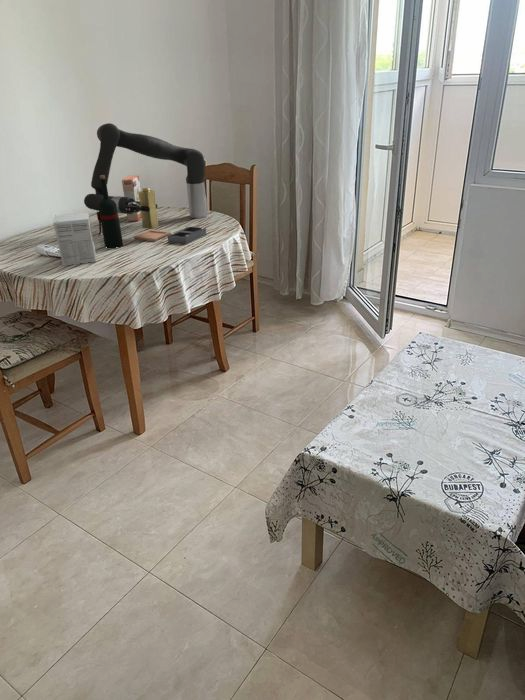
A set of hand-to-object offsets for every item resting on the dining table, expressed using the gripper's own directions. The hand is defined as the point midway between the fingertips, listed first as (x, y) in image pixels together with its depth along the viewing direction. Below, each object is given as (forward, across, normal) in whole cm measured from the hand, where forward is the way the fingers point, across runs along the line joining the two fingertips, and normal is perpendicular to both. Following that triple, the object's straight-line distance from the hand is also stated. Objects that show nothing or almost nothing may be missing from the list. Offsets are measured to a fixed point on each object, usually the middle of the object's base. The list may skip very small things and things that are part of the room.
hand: (153, 207), depth 234 cm
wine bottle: (-11, -18, +14) cm, 25 cm away
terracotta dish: (-2, 0, +14) cm, 14 cm away
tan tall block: (-3, 0, +9) cm, 9 cm away
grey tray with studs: (+15, +4, +14) cm, 20 cm away
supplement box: (-11, -38, +14) cm, 42 cm away
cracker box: (-33, +28, +14) cm, 46 cm away
